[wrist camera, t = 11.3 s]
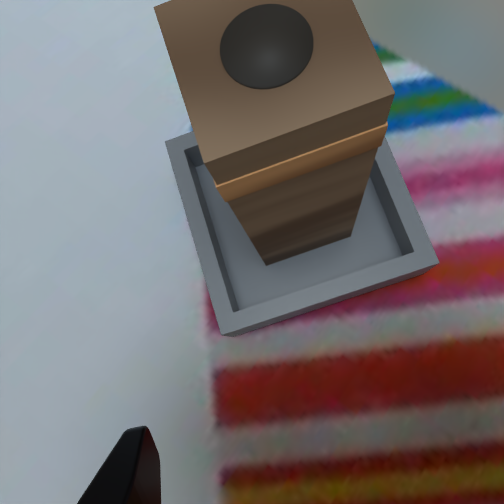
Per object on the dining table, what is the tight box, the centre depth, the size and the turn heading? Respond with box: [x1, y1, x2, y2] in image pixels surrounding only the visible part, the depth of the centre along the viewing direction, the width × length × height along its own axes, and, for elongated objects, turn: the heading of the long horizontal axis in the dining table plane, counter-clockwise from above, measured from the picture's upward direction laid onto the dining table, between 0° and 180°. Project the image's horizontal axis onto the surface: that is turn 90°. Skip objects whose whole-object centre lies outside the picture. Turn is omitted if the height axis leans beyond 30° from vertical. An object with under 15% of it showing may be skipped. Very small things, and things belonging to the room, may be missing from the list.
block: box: [154, 0, 395, 266], centre depth 17 cm, size 5×5×13 cm
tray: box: [165, 131, 439, 337], centre depth 22 cm, size 10×10×3 cm
